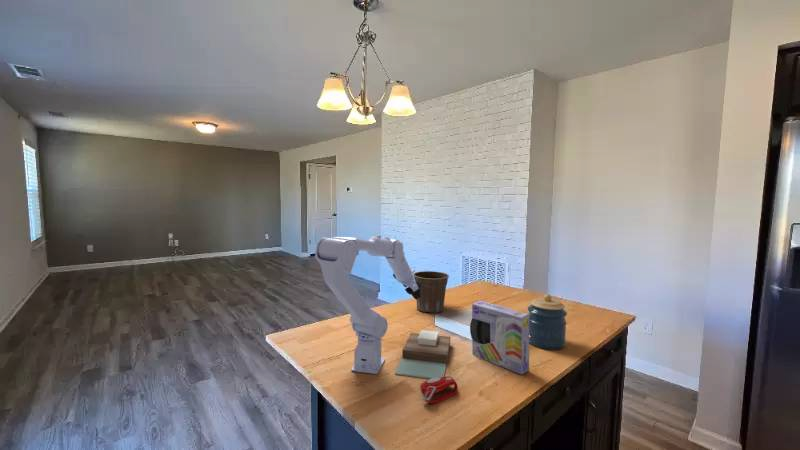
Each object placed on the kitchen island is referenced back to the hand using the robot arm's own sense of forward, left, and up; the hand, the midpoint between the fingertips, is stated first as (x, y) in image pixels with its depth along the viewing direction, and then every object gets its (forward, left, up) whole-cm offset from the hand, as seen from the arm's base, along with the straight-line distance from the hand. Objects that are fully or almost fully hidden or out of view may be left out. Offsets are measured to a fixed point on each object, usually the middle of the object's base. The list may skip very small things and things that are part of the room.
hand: (412, 291), depth 126 cm
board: (-10, -7, -17) cm, 21 cm away
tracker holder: (-34, -13, -18) cm, 40 cm away
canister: (+8, -47, -17) cm, 51 cm away
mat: (-23, -7, -17) cm, 29 cm away
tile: (-8, -7, -14) cm, 18 cm away
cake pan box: (-12, -30, -17) cm, 37 cm away
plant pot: (+34, -2, -17) cm, 38 cm away
